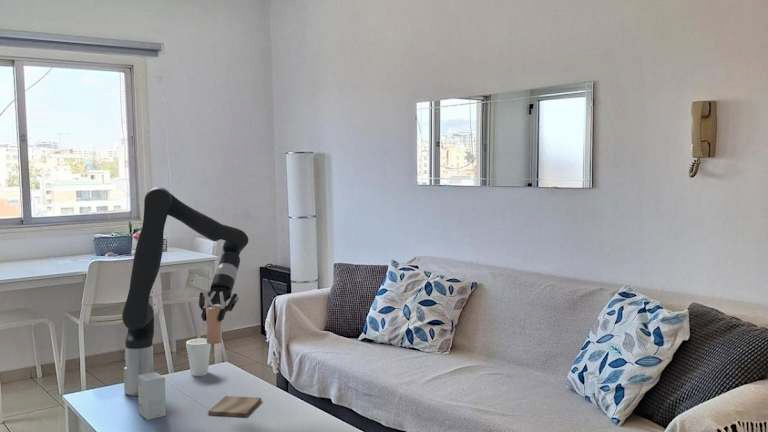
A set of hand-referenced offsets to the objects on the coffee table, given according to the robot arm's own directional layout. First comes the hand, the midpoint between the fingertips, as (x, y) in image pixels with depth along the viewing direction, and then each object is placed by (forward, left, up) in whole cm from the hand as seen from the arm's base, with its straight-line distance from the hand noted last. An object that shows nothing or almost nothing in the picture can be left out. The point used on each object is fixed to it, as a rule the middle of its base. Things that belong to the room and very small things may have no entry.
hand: (211, 319), depth 227 cm
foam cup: (-20, +34, -30) cm, 50 cm away
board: (+8, 0, -30) cm, 31 cm away
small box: (-17, -10, -30) cm, 36 cm away
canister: (0, +2, -8) cm, 8 cm away
